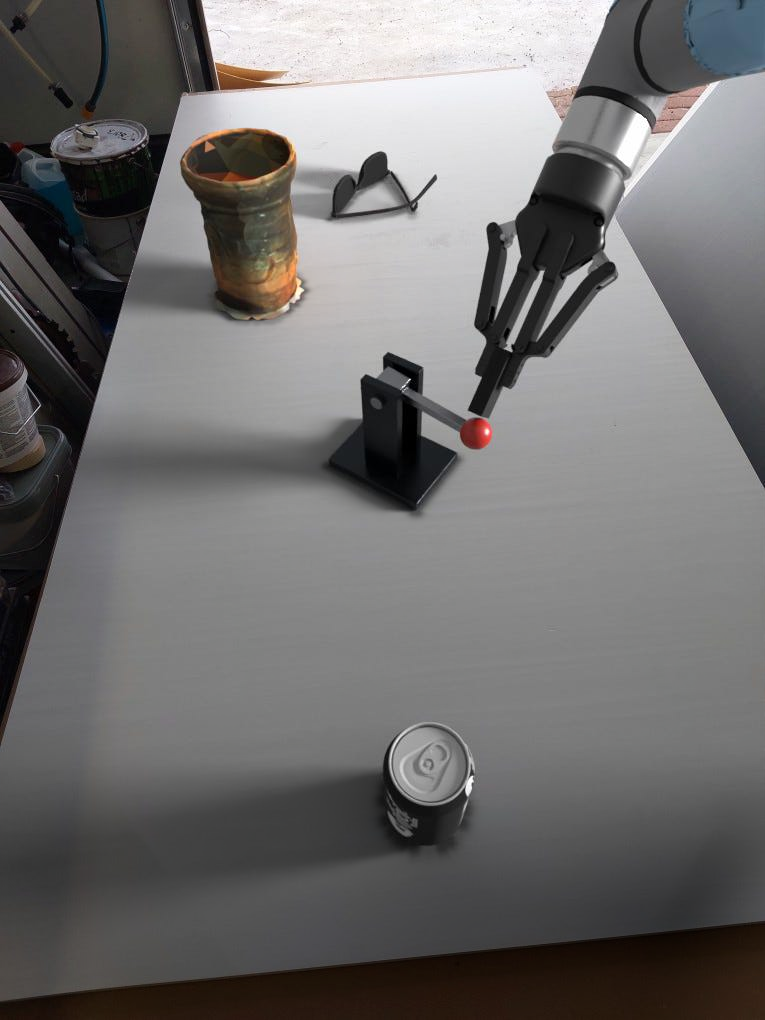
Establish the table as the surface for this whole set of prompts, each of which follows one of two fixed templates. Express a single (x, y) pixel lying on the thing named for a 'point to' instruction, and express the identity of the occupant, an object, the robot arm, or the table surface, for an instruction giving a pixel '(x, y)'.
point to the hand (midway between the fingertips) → (478, 414)
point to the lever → (441, 412)
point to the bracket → (393, 441)
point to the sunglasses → (369, 175)
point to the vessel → (247, 218)
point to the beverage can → (427, 782)
